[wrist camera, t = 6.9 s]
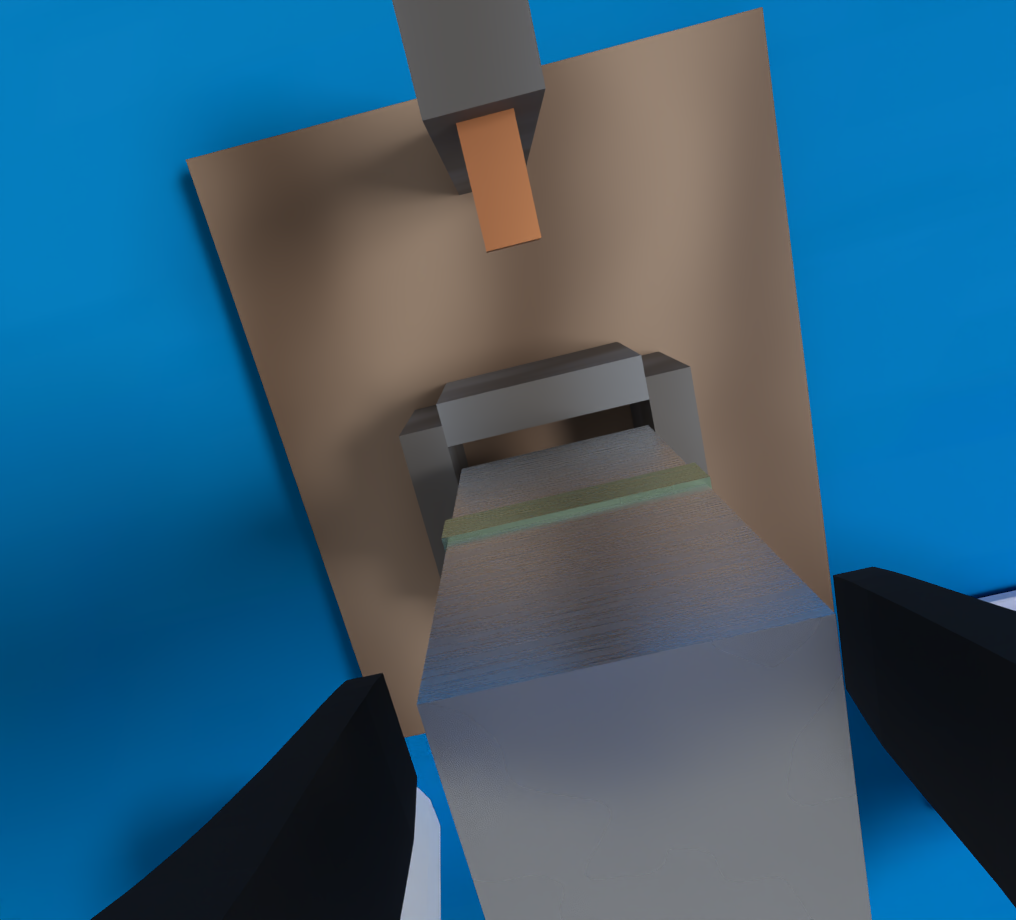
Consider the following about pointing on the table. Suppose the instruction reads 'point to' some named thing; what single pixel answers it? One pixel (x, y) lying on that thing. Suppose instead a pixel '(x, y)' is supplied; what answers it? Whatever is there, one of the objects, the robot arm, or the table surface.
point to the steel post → (636, 699)
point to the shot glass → (424, 866)
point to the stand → (520, 293)
